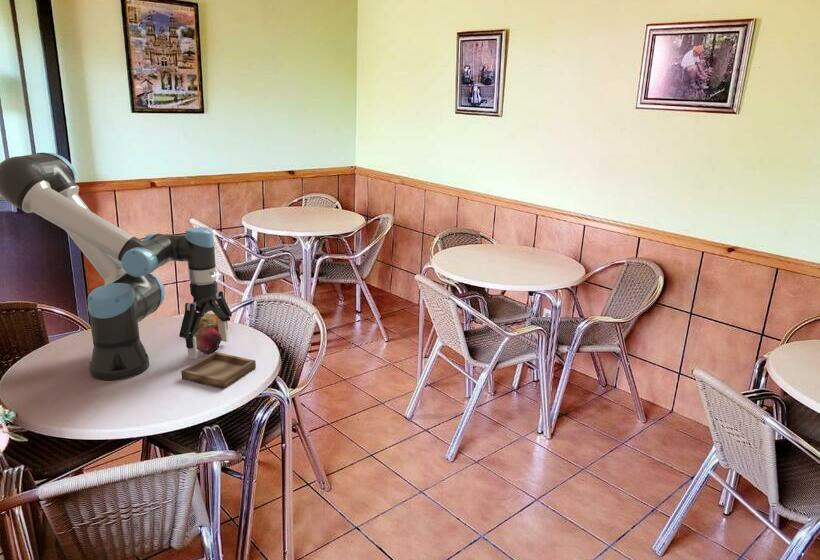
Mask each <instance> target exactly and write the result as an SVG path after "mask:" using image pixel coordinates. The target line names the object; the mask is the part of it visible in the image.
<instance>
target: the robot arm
mask: <svg viewBox="0 0 820 560" xmlns="http://www.w3.org/2000/svg"><path fill="white" fill-rule="evenodd" d="M76 179H77V178H76V171H75V168H74V166H73V165H72V164H71V162H70V161H69V160H68V159H66V158H65V157H64V156H62V155H60V154H57V153H53V152H36V153H33V154H27V155H26V154H25V155H21V156H10V157H8V158H6V159H4V160H2V161H1V162H0V196H1V197H2V198H3V199H4V200H5V201H6V202H8V203H10V204H11V205H13V206H14V207H16V208H17V209H19V210H21V211H23V212H24V213H27V214H31V213H34V214H36V215H38V216H40V217H42V218H43V219H45V220H47V221H48V222H50V223H52V224H54V225H55V226H57V227H59V228H61V229H62V230H64V231H65V232H66V233H67V235H68V236H69V237H70V238H71V239H72V241H73V243H74V244H75V245H76V246H77V247H78V249H79V250H80V251H81V252H82V254H83V255H84V256H85V257H86V258H87V260H88V261H89V262H90V264H91V265H92V266H93V267H94V269H95V270H96V271H97V272H98V274H99V276H101V277H102V278H103V280H104V285H100V286H98V287H96V288H95V289H93V290H92V291H91V292H90V293H89V294H88V295H87V312H88V316H89V323H90V331H91V337H92V345H93V348H92V355H91V359H90V361H89V365H88V367H89V374H90V376H91V377H93V378H94V379H96V380H101V381H116V380H124V379H129V378H132V377H134V376H138V375H139V374H142V373H143V372H145V371H146V370H148V369H149V367H150V356H149V354H148V353H147V351H146V349H145V347H144V345H143V343H142V341H141V339H140V338H141V337H140V329H139V323H140V322H141V321H143V320H144V319H146V318H147V317H148V316H150V315H151V314H153V313H155V312H156V311H157V310H158V309H159V308H160V307H161V305H163V302H164V300H165V295H166V291H165V285H164V283H163V282H162V280H161V279H160V278H159V277H158V276H157V275H156V274H154V273H153V272H155V270H157V269H159V268H160V267H162V266H164V265H166V264H168V263H169V262H187V267H188V268H187V269H188V270H187V271H188V280H189V282H190V283H189V290H190V296H192V298H193V301H192V302H190V303H189V302H186V303H185V304H184V312H183V317H182V322H181V327H180V329H179V336H178V337H179V338H183V339H185V346H186V348H187V355H188V358H190V359H191V358H192V359H198V358H199V357H198V350H197V345H196V337H195V334H196V333H195V332H196V329H197V327H198V324H199V322H200V320H201V317H203V316H204V314H205V313H209V312H212V313H213V314H215V315H216V316H217V317H218V318H219V319H221V320H218V332H219V333H220V335H221V338H222V339H221V342H223V343H225V342H226V343H227V342H228V341H229V339H228V338H229V337H228V330H229V329H228V322H230V321H231V317H232V315H233V314H232V312H231V309H230V307H229V306H228V303H227V301H226V299H225V296H224V292H223V291H220V290H218V282H217V281H216V280H217V270H216V267H217V266H216V264H217V263H216V252H215V250H216V249H215V248H216V247H215V245H216V244H215V241H214V240H215V239H214V233H213V230H212V229H210V228H208V227H202V226H201V227H190V228H187V229H185V232H184V234H167V233H166V234H164V233H153V234H152V233H150V234H149V233H148V234H147V235H145V236H144V239H143V240H141V239H140V238H138V237H136V236H135V235H132V234H130V233H129V232H127V231H125V230H124V229H122V228H120V227H119V226H117V225H115V224H113V223H111V222H109V221H108V220H106V219H105V218H103V217H101V216H99V214H97V213H95V212H93V211H92V210H90V208H89V207H88V205H87V204H86V203H85V202H84V201H83V199H82V198H81V196H80V195H79V191H80V186H79V185H78V184H77V182H76V181H77V180H76Z"/></svg>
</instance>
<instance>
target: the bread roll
mask: <svg viewBox="0 0 820 560" xmlns="http://www.w3.org/2000/svg"><path fill="white" fill-rule="evenodd" d="M218 320H221V319H219V318H218V317H217V316H216V315H215V314H214V313H210V312H207V313H205V314H204V316H203V317H201V320H200V322H199V324H198V327H197V329H196V332H197V331H198V330H199V329H201V328H203V327H212V328H214V329H215V330H217V331H218ZM196 332H195V334H196Z"/></svg>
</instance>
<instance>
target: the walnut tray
mask: <svg viewBox="0 0 820 560" xmlns="http://www.w3.org/2000/svg"><path fill="white" fill-rule="evenodd" d="M256 367H257V366H256V360H255V359H250V358H245V357H240V356H236V355H231V354H227V353H222V352H218V351H215V352H214V353H212V354H208V355H207V356H205V357H203V358H202V359H199V360H198V361H197V362H195V363H193V364H191V365H189V366H187V367H186V368H184V369H182V370H181V372H180V374H181V380H184V381H188V382H190V383H196V384H200V385H204V386H208V387H213V388H217V389H220V390H225V389H227V388H229V387H231V386H232V385H233V384H235V383H236V382H237V381H239V380H241V379H242V378H244V377H246V376H247V375H248V374H250V373H252V370H253V371H254V370H256V369H257V368H256ZM255 368H256V369H255ZM249 372H250V373H249ZM246 374H247V375H246Z"/></svg>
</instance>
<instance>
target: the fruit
mask: <svg viewBox="0 0 820 560" xmlns="http://www.w3.org/2000/svg"><path fill="white" fill-rule="evenodd" d="M194 337H196V345H197V352H198V351H199V352H200V353H203V354H204V355H211V354H212V353H214V352H218V350H219V349H220V345H221V342H222V341H221V339H222V338H221V335H220V333H219V332H218V331H217V330H215V329H214V328H212V327H203V328H201V329H199V330H198V331H197V332H196V333H195V334H194Z"/></svg>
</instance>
